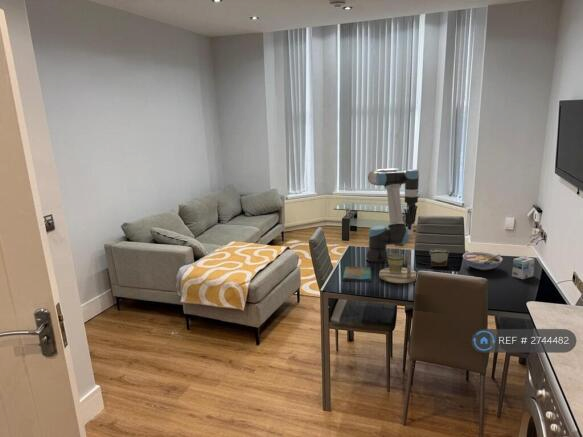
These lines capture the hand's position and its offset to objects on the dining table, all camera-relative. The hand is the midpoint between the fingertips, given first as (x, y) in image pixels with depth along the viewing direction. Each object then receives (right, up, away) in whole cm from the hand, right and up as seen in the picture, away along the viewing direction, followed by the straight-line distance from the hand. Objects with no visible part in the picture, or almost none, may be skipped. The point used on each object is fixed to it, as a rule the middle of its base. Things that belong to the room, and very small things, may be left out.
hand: (410, 234), depth 241 cm
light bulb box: (+64, -25, -6) cm, 69 cm away
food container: (+24, -21, +21) cm, 38 cm away
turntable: (-8, -25, -3) cm, 26 cm away
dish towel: (-31, -26, +8) cm, 41 cm away
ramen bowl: (+48, -22, +10) cm, 53 cm away
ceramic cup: (-8, -23, 0) cm, 24 cm away
